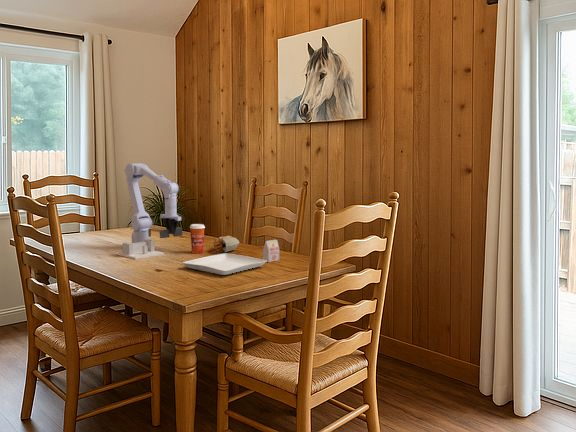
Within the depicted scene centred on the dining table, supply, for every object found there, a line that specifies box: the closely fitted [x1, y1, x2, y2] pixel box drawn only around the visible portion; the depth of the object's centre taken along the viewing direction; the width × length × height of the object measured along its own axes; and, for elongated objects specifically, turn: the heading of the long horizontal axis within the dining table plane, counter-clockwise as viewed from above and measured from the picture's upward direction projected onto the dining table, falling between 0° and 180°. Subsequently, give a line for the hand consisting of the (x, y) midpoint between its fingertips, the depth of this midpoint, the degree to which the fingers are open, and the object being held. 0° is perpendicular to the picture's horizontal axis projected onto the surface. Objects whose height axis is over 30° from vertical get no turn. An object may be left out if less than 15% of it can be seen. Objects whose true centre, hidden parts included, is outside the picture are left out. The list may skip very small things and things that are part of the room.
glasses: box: [148, 226, 183, 239], centre depth 297 cm, size 12×13×4 cm
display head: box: [116, 239, 165, 260], centre depth 286 cm, size 16×16×6 cm
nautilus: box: [209, 235, 240, 255], centre depth 296 cm, size 8×22×15 cm
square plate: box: [181, 252, 267, 276], centre depth 258 cm, size 27×27×4 cm
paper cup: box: [189, 223, 206, 255], centre depth 293 cm, size 8×8×14 cm
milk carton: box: [262, 239, 280, 263], centre depth 273 cm, size 4×7×10 cm, turn 131°
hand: (171, 233), depth 294 cm, fingers closed on glasses, 2 cm apart
